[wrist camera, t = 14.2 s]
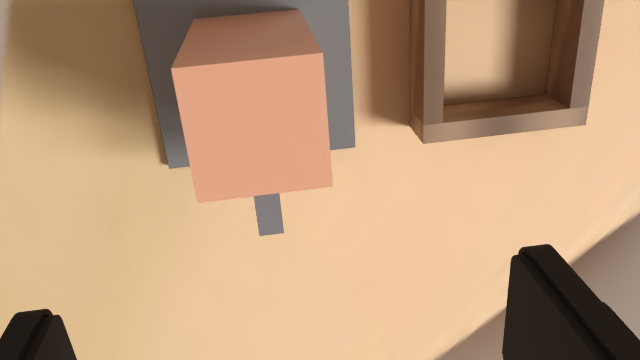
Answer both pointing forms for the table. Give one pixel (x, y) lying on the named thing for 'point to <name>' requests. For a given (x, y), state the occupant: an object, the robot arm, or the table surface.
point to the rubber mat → (194, 3)
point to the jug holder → (513, 113)
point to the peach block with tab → (254, 109)
